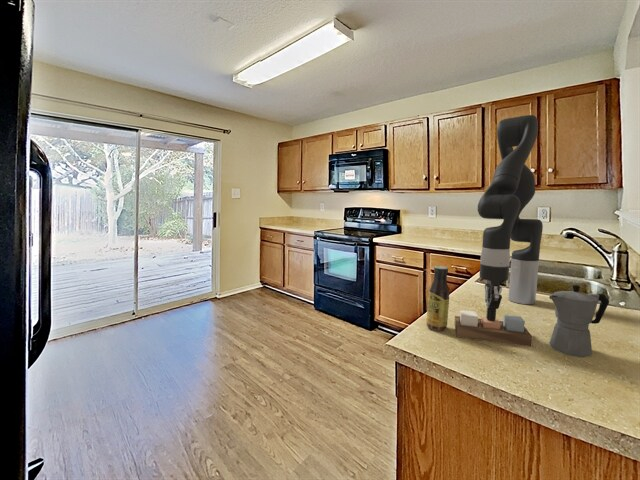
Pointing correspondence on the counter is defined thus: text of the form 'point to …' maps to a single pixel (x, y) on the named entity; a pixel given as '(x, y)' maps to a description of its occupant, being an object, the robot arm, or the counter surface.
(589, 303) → the coffeepot
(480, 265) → the robot arm
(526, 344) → the brown button board
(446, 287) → the sauce bottle
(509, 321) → the slate button
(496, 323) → the terracotta button
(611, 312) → the counter surface
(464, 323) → the cream button
